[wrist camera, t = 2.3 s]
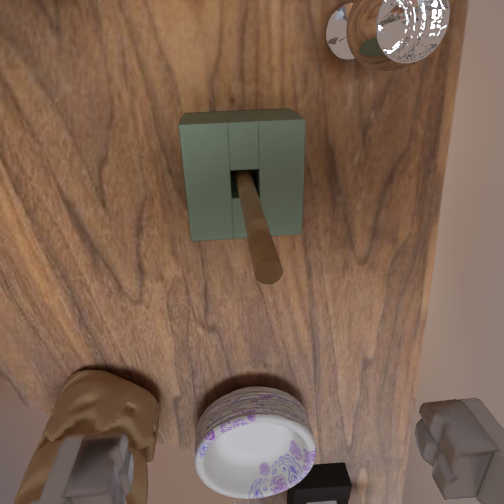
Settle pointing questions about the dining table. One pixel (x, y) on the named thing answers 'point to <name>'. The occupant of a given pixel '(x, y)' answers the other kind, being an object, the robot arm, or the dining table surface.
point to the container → (97, 428)
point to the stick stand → (243, 158)
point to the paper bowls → (254, 443)
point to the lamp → (322, 486)
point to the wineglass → (387, 31)
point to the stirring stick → (257, 231)
